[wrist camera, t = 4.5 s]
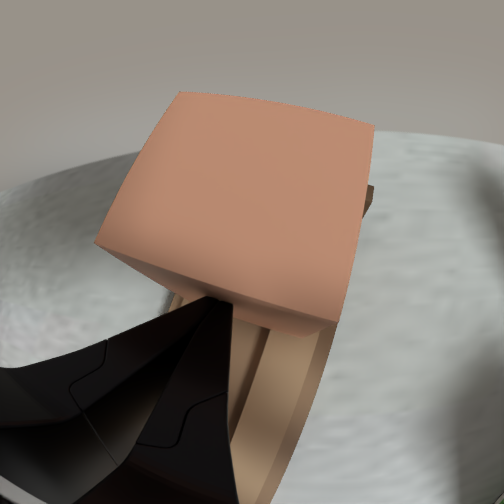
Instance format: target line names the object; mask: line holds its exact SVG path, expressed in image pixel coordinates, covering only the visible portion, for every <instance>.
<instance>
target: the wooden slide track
mask: <svg viewBox="0 0 504 504" xmlns="http://www.w3.org/2000/svg"><path fill="white" fill-rule="evenodd" d="M373 191H374V186H371V185H367V192H366V198H365V204H364V210H363V216H362V219H363V217H364V215H365V213H366V212H367V210H368V208H369V206H370V205H371V203H372V199H373ZM188 303H190V301H188V300H186V299H185V298H183V297H181V296H179V295H178V294H176V293H175V295H174V297H173V300H172V303H171V306H170V308H169V311H168V312H170V311H172V310H175V309H177V308H179V307H181V306H184V305H186V304H188ZM337 324H338V323H336V324H334V325H332V326H329V327H327V328H325V329H323V330H320V331H318V332H316V333H313V334H311V335H309V336H306V337H304V338H299V337H295V336H292V335H288V334H285V333H281V332H278V331H275V330H271V329H268V328H265V327H262V326H258V325H255V324H252V323H249V322H246V321H243V320H240V319H237V318H233V325H232V342H231V359H230V378H229V393H228V394H229V400H228V428H229V439H230V447H231V454H232V461H233V468H234V475H235V481H236V488H237V493H238V498H239V503H240V504H270V503H271V500H272V498H273V496H274V494H275V492H276V490H277V488H278V486H279V484H280V482H281V479H282V477H283V475H284V473H285V471H286V468H287V466H288V464H289V461H290V459H291V457H292V454H293V452H294V450H295V447H296V445H297V442H298V440H299V437H300V435H301V432H302V430H303V427H304V425H305V422H306V419H307V417H308V414H309V411H310V409H311V406H312V403H313V400H314V398H315V395H316V392H317V389H318V386H319V383H320V380H321V377H322V374H323V371H324V368H325V365H326V361H327V358H328V355H329V352H330V348H331V345H332V342H333V338H334V335H335V331H336V328H337Z"/></svg>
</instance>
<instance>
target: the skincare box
mask: <svg viewBox="0 0 504 504" xmlns="http://www.w3.org/2000/svg"><path fill="white" fill-rule="evenodd" d="M494 504H504V493H503V494H502V495H501V496H500V498H499V499H498V500H497V501H496V502H495V503H494Z"/></svg>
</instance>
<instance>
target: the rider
mask: <svg viewBox="0 0 504 504" xmlns="http://www.w3.org/2000/svg"><path fill="white" fill-rule="evenodd" d="M373 137H374V125H371V124H368V123H365V122H361V121H358V120H354V119H350V118H347V117H343V116H338V115H335V114H331V113H327V112H322V111H319V110H314V109H309V108H305V107H300V106H295V105H289V104H284V103H279V102H272V101H267V100H260V99H253V98H246V97H238V96H230V95H219V94H209V93H196V92H179V93H178V94H177V96H176V97H175V99H174V100H173V101H172V103H171V104H170V106H169V107H168V109H167V110H166V112H165V113H164V115H163V116H162V118H161V119H160V121H159V122H158V124H157V126H156V127H155V129H154V130H153V132H152V134H151V135H150V136H149V138H148V140H147V141H146V143H145V145H144V146H143V148H142V150H141V151H140V153H139V155H138V157H137V158H136V160H135V162H134V163H133V165H132V167H131V169H130V171H129V172H128V174H127V176H126V178H125V180H124V182H123V184H122V185H121V187H120V189H119V191H118V193H117V195H116V197H115V199H114V201H113V203H112V205H111V207H110V209H109V211H108V213H107V215H106V217H105V219H104V222H103V224H102V226H101V228H100V230H99V233H98V235H97V237H96V239H95V242H94V243H95V244H96V245H98V246H99V247H101V248H102V249H104V250H105V251H107V252H108V253H110V254H111V255H113V256H115V257H116V258H118V259H119V260H121V261H122V262H124V263H126V264H127V265H129V266H130V267H132V268H134V269H135V270H137V271H139V272H140V273H142V274H144V275H145V276H147V277H149V278H150V279H152V280H154V281H155V282H157V283H159V284H160V285H162V286H164V287H165V288H167V289H169V290H171V291H172V292H174V293H176V294H178V295H179V296H181V297H183V298H185V299H186V300H188V301H190V302H193V301H195V300H197V299H199V298H202V297H204V296H210V297H213V298H216V299H218V300H219V301H225V302H228V303H231V304H233V306H234V309H233V318H237V319H240V320H243V321H246V322H249V323H252V324H255V325H258V326H262V327H265V328H268V329H271V330H275V331H278V332H281V333H285V334H288V335H292V336H295V337H299V338H304V337H306V336H309V335H311V334H313V333H316V332H318V331H320V330H323V329H325V328H327V327H329V326H332V325H334V324H336V323H338V322H339V319H340V315H341V312H342V308H343V304H344V300H345V296H346V292H347V288H348V284H349V279H350V275H351V271H352V266H353V262H354V257H355V252H356V248H357V243H358V238H359V232H360V227H361V222H362V216H363V210H364V204H365V198H366V192H367V185H368V178H369V171H370V163H371V155H372V147H373Z"/></svg>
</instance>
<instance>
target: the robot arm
mask: <svg viewBox="0 0 504 504" xmlns="http://www.w3.org/2000/svg"><path fill="white" fill-rule="evenodd" d="M233 309H234V306H233V304H231V303H228V302H225V301H219V300H218V299H216V298H213V297H210V296H204V297H202V298H199V299H197V300H195V301H193V302H190V303H188V304H186V305H184V306H181V307H179V308H177V309H175V310H172V311H170V312H168V313H166V314H163V315H161V316H159V317H157V318H154V319H152V320H150V321H147V322H145V323H143V324H140V325H138V326H136V327H134V328H131V329H129V330H127V331H124V332H122V333H120V334H117V335H115V336H113V337H110V338H108V340H106V339H105V340H103V341H101V342H98V343H96V344H93V345H91V346H88V347H86V348H83V349H80V350H78V351H75V352H72V353H69V354H65V355H62V356H59V357H56V358H52V359H49V360H45V361H42V362H38V363H35V364H31V365H27V366H23V367H18V368H3V367H0V504H240V503H239V498H238V493H237V488H236V481H235V475H234V468H233V461H232V454H231V447H230V439H229V428H228V400H229V394H228V393H229V378H230V359H231V342H232V325H233Z"/></svg>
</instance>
